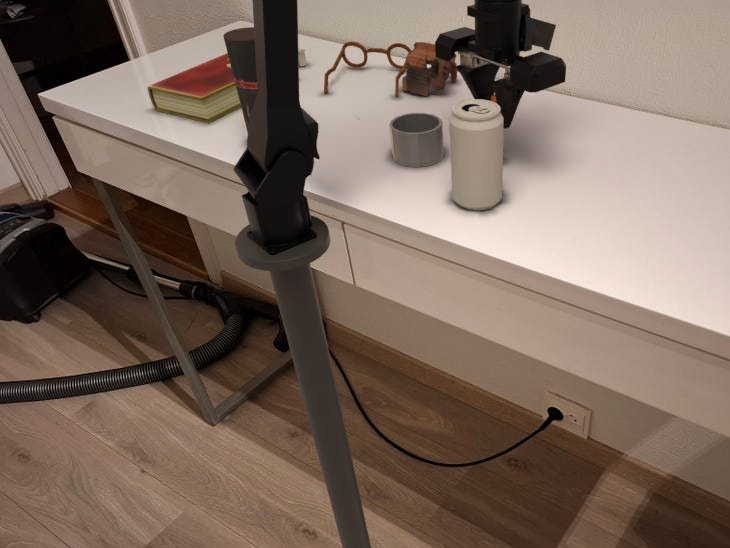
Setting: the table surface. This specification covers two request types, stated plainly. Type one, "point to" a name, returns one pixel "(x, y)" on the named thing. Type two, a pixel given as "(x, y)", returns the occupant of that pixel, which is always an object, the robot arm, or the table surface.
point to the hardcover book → (198, 92)
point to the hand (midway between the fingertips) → (497, 124)
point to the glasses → (380, 50)
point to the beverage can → (476, 153)
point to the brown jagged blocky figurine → (427, 70)
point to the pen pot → (417, 139)
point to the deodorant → (243, 67)
